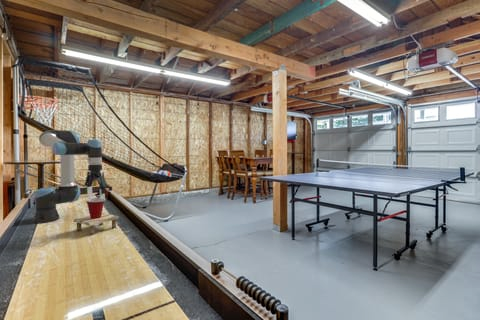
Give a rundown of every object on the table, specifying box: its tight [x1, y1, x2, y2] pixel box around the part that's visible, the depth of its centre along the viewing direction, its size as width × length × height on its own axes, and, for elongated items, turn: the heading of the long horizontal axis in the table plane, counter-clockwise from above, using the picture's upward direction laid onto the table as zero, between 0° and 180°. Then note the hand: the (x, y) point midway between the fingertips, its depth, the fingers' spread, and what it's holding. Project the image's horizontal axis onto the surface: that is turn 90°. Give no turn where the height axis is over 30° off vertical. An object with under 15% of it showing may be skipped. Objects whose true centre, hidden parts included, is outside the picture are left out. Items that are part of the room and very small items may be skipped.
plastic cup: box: [85, 197, 106, 219], centre depth 158 cm, size 11×11×12 cm
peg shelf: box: [73, 212, 119, 236], centre depth 159 cm, size 18×18×8 cm
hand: (96, 197), depth 158 cm, fingers open, 13 cm apart
